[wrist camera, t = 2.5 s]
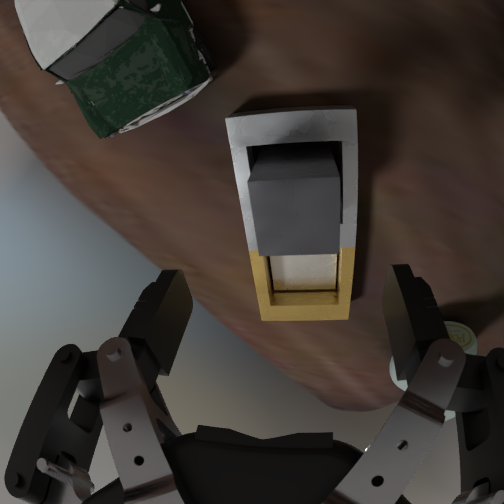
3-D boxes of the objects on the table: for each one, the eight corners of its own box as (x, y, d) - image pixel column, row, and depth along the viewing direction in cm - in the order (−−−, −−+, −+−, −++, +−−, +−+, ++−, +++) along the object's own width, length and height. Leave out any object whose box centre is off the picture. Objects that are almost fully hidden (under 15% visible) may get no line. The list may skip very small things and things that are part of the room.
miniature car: (128, 135, 20) (64, 174, 14) (58, -20, 11) (-10, -22, 5) (229, 84, 17) (189, 97, 11) (141, -83, 8) (83, -113, 2)
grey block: (328, 143, 19) (340, 177, 14) (330, 202, 21) (339, 253, 16) (262, 147, 20) (247, 182, 14) (269, 205, 22) (258, 256, 17)
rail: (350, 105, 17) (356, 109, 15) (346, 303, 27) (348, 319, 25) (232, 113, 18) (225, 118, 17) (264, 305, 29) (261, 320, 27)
